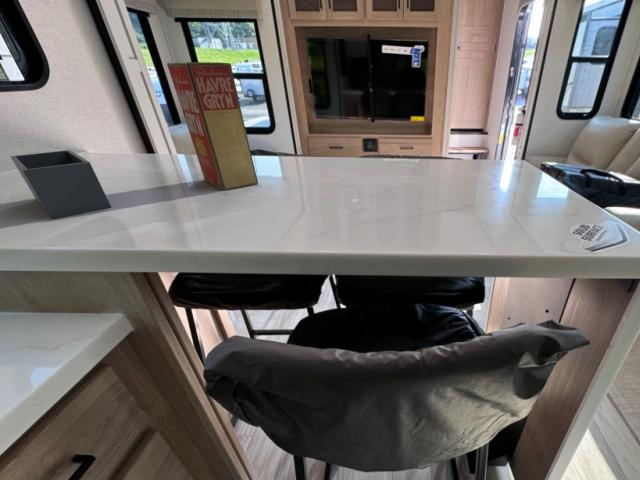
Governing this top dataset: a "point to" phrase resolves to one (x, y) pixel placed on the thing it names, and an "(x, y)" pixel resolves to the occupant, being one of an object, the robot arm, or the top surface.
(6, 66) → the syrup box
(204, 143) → the food packaging
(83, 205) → the dark grey open box
